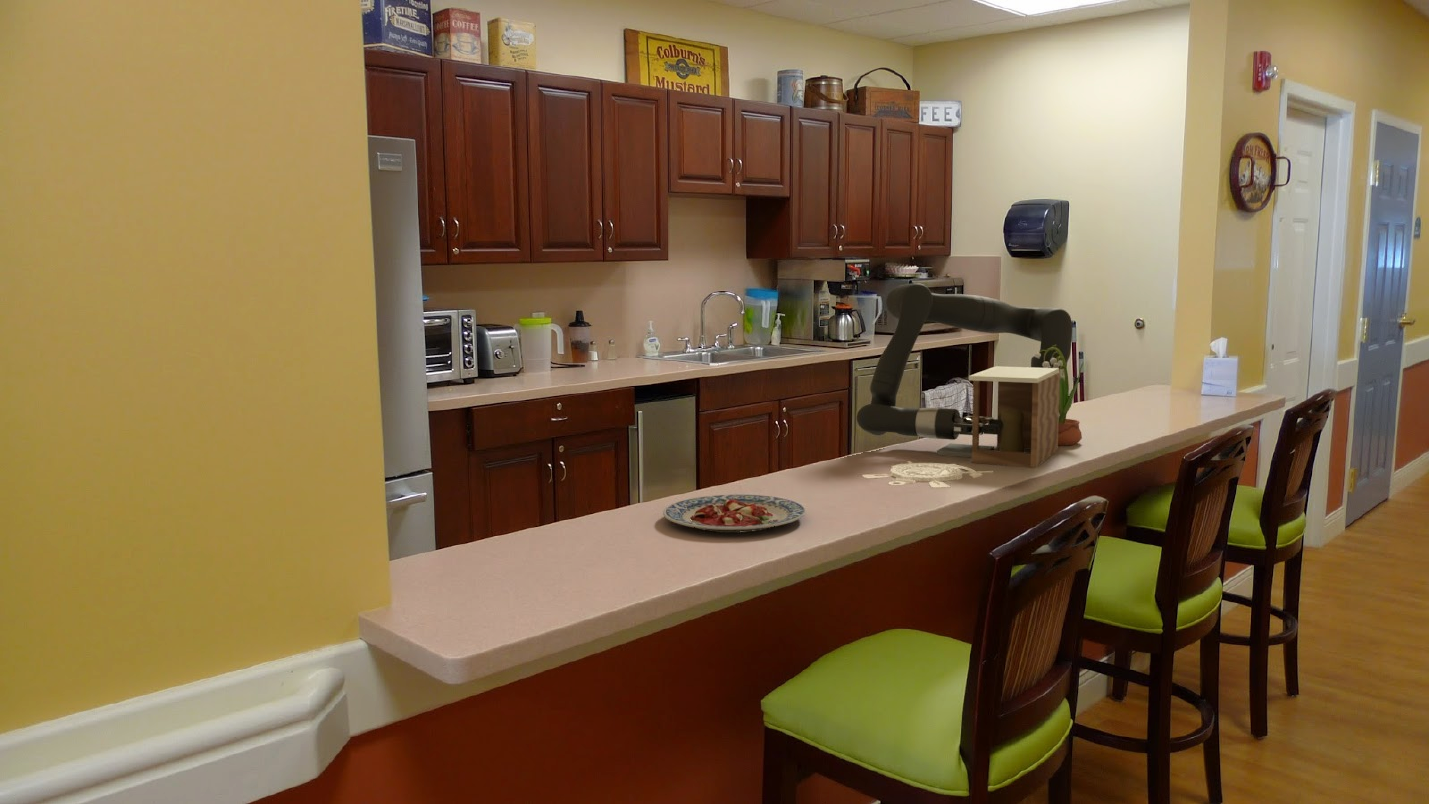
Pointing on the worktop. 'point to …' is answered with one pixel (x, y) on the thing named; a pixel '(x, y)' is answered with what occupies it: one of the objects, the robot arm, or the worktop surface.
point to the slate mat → (960, 450)
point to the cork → (1012, 431)
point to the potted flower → (1064, 401)
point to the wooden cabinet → (1032, 397)
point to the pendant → (926, 473)
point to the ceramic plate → (734, 512)
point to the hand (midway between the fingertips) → (1004, 427)
